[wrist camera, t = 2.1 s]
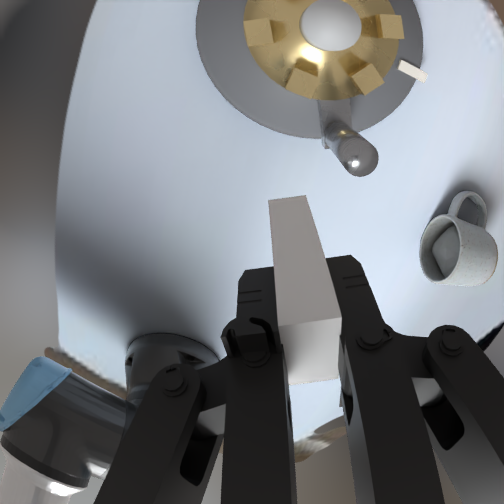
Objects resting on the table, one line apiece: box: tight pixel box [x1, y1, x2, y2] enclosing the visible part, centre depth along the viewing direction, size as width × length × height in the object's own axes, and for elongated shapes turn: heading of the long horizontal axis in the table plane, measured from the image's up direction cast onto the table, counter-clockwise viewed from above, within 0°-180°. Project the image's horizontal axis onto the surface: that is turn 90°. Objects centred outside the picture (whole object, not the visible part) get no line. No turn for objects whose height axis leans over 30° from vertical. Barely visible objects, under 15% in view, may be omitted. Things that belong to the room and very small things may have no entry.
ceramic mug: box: [419, 191, 498, 287], centre depth 30 cm, size 11×8×8 cm
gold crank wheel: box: [243, 0, 404, 177], centre depth 19 cm, size 16×12×9 cm
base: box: [196, 0, 428, 139], centre depth 20 cm, size 20×20×7 cm
